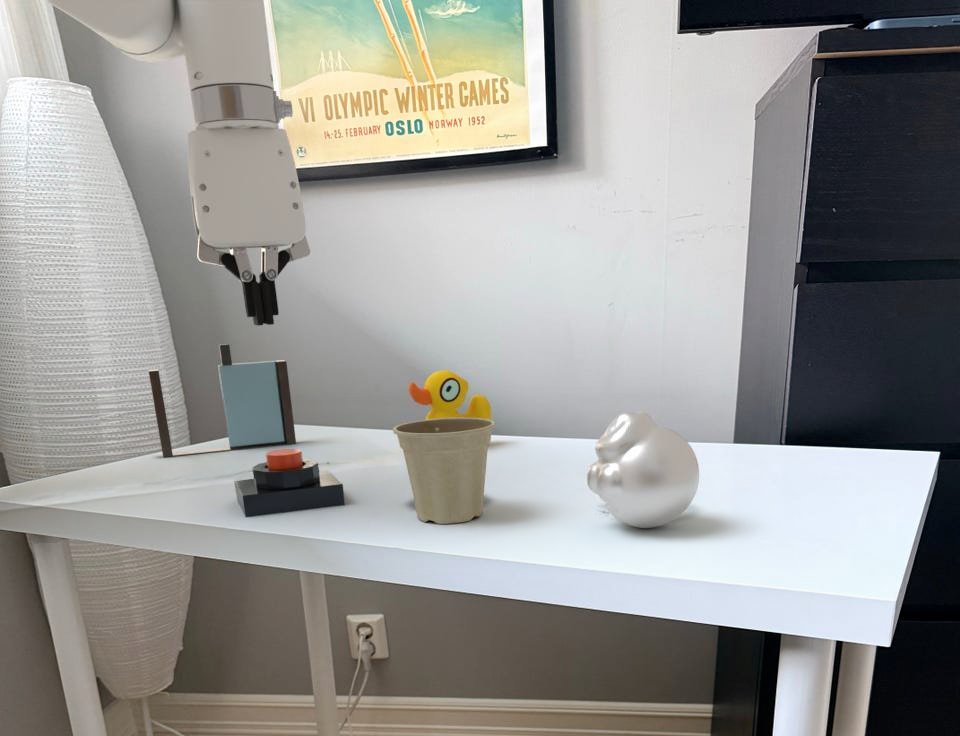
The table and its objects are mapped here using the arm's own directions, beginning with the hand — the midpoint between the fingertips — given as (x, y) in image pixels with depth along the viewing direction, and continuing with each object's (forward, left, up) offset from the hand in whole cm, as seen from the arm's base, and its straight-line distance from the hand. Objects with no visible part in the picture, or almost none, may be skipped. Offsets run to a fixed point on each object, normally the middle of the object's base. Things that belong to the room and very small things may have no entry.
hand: (263, 324), depth 92 cm
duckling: (+25, +19, -18) cm, 36 cm away
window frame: (-3, +28, -18) cm, 33 cm away
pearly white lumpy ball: (+27, -28, -18) cm, 43 cm away
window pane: (+1, +27, -16) cm, 31 cm away
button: (0, -2, -14) cm, 14 cm away
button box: (0, -2, -18) cm, 18 cm away
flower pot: (+13, -16, -18) cm, 28 cm away
